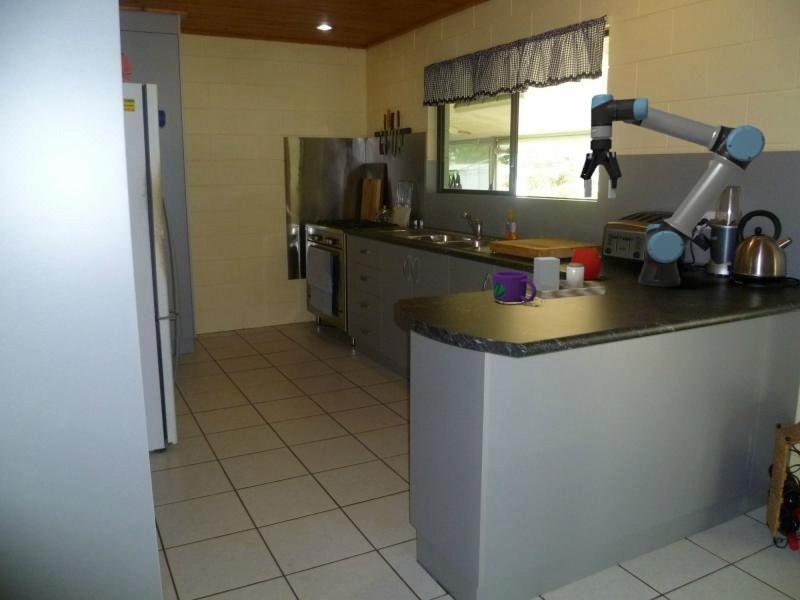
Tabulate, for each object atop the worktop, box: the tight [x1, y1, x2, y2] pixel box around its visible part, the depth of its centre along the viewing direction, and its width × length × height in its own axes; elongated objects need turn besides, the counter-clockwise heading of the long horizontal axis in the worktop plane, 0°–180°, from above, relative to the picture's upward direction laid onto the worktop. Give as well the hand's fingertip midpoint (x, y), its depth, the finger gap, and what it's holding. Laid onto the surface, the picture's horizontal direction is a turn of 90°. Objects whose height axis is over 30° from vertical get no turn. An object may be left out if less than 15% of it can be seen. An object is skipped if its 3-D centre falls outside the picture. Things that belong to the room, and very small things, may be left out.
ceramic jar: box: [565, 262, 585, 289], centre depth 232 cm, size 6×6×10 cm
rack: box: [526, 279, 606, 301], centre depth 231 cm, size 25×18×4 cm
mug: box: [492, 270, 537, 303], centre depth 217 cm, size 17×11×10 cm, turn 36°
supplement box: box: [532, 256, 561, 291], centre depth 228 cm, size 7×7×13 cm
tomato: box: [570, 245, 602, 281], centre depth 258 cm, size 13×11×14 cm
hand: (599, 197), depth 240 cm, fingers open, 13 cm apart
